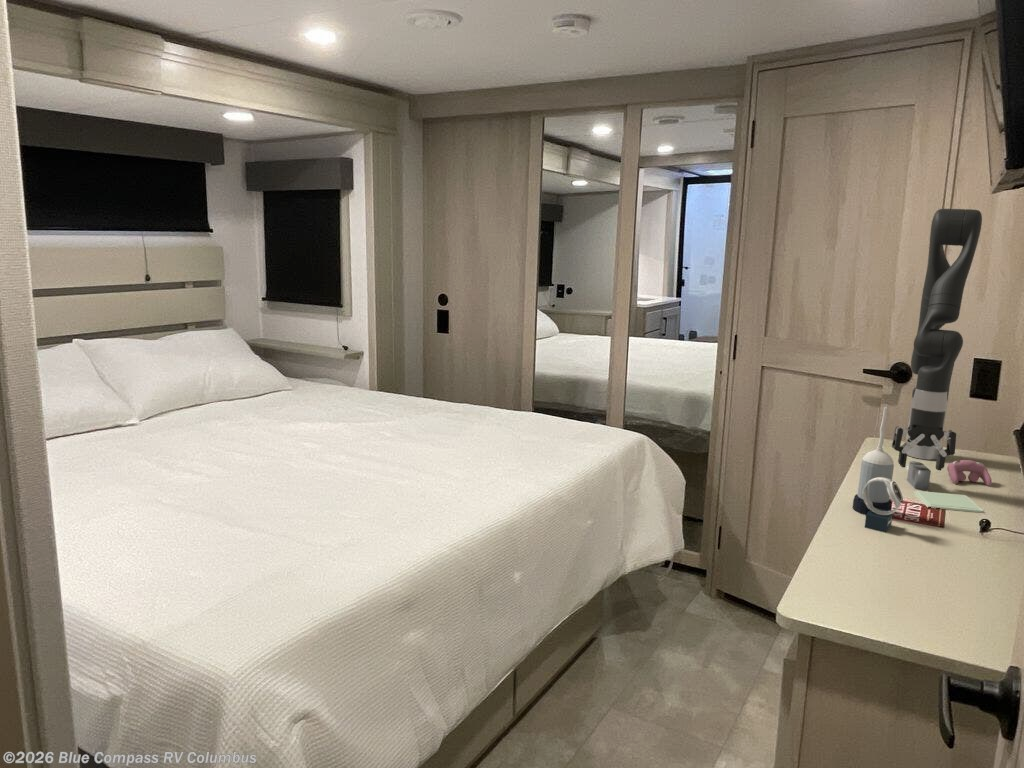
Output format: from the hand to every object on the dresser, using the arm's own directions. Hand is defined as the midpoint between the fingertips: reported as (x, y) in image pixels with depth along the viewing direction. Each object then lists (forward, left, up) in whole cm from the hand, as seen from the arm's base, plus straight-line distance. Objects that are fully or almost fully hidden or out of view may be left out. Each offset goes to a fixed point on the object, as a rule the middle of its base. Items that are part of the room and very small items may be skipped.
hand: (920, 468), depth 192 cm
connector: (-1, 0, -5) cm, 5 cm away
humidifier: (+24, -17, -5) cm, 29 cm away
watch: (+34, -18, -5) cm, 38 cm away
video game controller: (-7, +14, -5) cm, 16 cm away
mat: (+12, +3, -5) cm, 13 cm away
